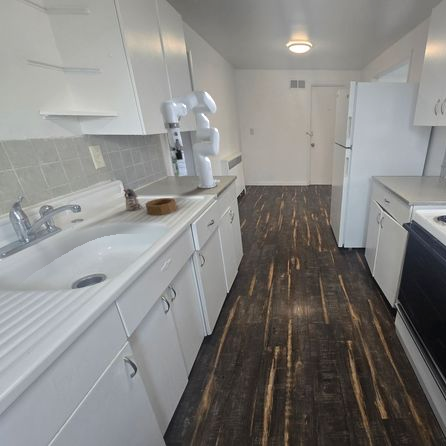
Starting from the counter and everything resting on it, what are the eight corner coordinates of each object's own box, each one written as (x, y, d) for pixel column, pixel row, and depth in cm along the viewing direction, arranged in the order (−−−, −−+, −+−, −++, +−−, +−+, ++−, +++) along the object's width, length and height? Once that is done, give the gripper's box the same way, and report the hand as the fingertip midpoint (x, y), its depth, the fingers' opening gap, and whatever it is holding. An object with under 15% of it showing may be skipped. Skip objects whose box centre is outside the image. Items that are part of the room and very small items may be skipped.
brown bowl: (172, 204, 153) (171, 196, 151) (179, 210, 142) (178, 202, 140) (145, 209, 144) (143, 201, 142) (151, 217, 134) (148, 208, 132)
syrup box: (174, 175, 153) (169, 150, 148) (184, 174, 157) (179, 149, 151) (178, 176, 149) (173, 151, 144) (188, 175, 153) (183, 150, 148)
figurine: (143, 208, 147) (138, 188, 142) (130, 211, 142) (124, 191, 137) (137, 205, 151) (132, 186, 146) (124, 209, 145) (118, 189, 141)
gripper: (183, 126, 139) (189, 160, 145) (174, 126, 151) (180, 156, 158) (169, 126, 134) (175, 161, 141) (161, 126, 147) (167, 158, 153)
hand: (178, 158), depth 149 cm, fingers closed on syrup box, 6 cm apart
